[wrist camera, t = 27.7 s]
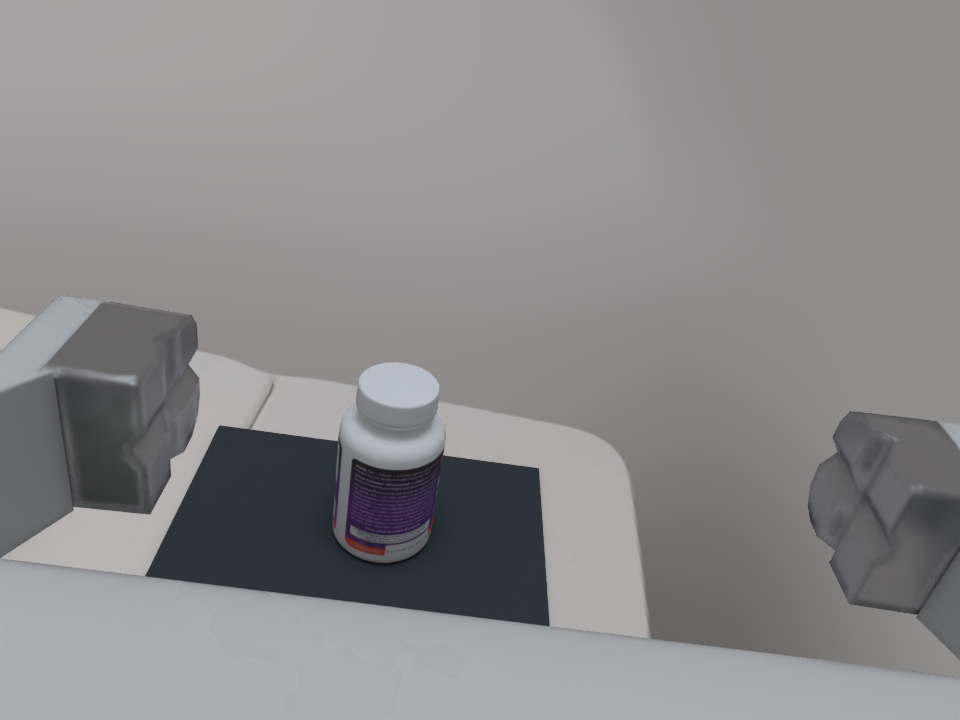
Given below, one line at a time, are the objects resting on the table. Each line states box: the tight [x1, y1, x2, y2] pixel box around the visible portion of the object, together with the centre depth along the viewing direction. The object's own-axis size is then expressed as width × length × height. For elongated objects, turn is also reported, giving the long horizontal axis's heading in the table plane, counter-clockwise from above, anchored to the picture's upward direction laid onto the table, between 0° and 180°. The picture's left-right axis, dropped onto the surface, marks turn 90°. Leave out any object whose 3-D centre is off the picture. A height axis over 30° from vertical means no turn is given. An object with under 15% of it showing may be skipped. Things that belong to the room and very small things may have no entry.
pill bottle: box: [333, 363, 446, 563], centre depth 42 cm, size 5×5×10 cm
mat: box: [145, 426, 549, 626], centre depth 44 cm, size 20×14×1 cm
